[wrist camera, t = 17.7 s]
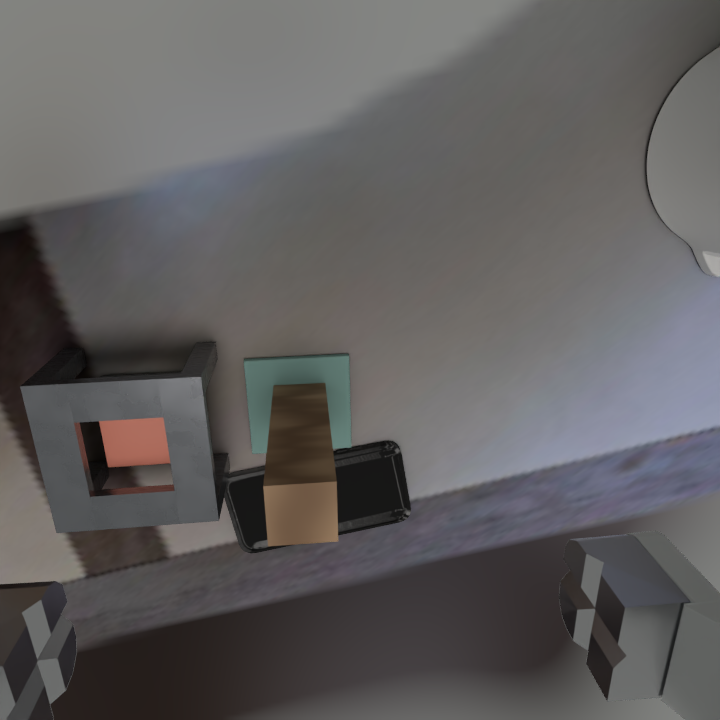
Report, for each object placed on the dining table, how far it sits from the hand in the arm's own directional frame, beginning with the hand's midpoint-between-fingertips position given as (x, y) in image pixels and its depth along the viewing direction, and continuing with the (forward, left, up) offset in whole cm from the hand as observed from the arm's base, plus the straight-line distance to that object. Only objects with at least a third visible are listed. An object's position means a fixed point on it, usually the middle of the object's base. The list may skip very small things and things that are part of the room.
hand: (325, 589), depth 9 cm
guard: (+13, +12, -34) cm, 38 cm away
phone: (0, +21, -35) cm, 41 cm away
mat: (+1, +12, -34) cm, 36 cm away
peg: (+1, +13, -34) cm, 36 cm away
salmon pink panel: (+13, +12, -33) cm, 37 cm away
